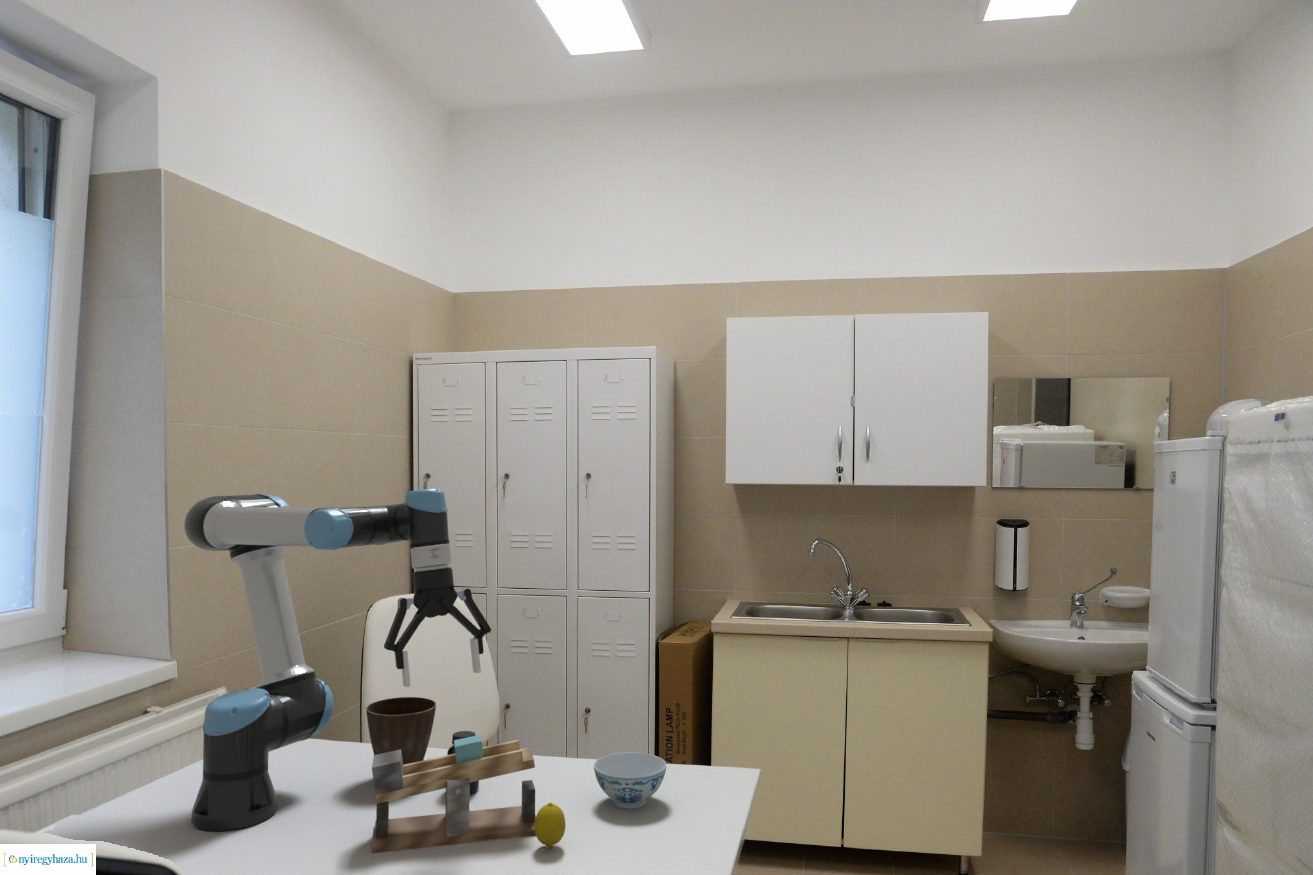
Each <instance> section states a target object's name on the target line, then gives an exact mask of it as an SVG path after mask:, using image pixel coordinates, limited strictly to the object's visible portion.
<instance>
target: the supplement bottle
mask: <svg viewBox="0 0 1313 875" xmlns="http://www.w3.org/2000/svg"><path fill="white" fill-rule="evenodd" d="M472 736H476V733H475V731H472V730H461V731H456V732H453V734H452V740H451V744H452V745H451V746H450V747H449V748H448V750H447V753H446V755H450V754H455V745H454V740H458V739H463V738H467V737H472ZM479 787H480V780H479V781H474V782H470V794H469V796H470V795H473V794H475V793H477V792H478V790H479Z"/></svg>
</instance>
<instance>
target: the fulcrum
mask: <svg viewBox="0 0 1313 875" xmlns="http://www.w3.org/2000/svg"><path fill="white" fill-rule="evenodd" d="M469 794H470V779H469V778H466V779H454V780H447V788H445V808H444V809H445V813H439V814H426V815H418V816H407V817H405V816H404V817H396V818H390V817H389V815H390V813H389V812H390V808H389V807H390V801H388V802H383V803H379V804H376V818H375V819H376V820H375V824H374V829H373V837H372V845H371V853H373V854H374V853H381V852H382V853H384V852H391V851H400V850H401V851H402V850H410V849H419V848H430V847H437V846H438V847H439V846H447V845H448V846H449V845H455V844H456V845H458V844H465V843H474V842H476V843H477V842H483V841H493V840H502V839H510V838H512V839H513V838H521V837H529V836H530V837H531V836H536V833H535V820H536V816H537V814H536V787H535V785H534V782H533V779H529V780H527V779H526V780H522V781H521V805H519V806H518V805H517V806H508V807H506V806H505V807H497V808H488V809H477V810H476V809H475V810H470V795H469Z"/></svg>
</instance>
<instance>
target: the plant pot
mask: <svg viewBox="0 0 1313 875" xmlns="http://www.w3.org/2000/svg"><path fill="white" fill-rule="evenodd" d="M436 709H437V702H436V701H434V700H433V699H431V698H426V697H418V696H405V697H403V696H399V697H390V698H385V699H381V700H377V701H374V702H371V703H370V704H368V705H367V706H366V708H365V712H366V720H367V728H368V734H369V739H370V744H371V749H372V751H373V756H374V755H377V754H382V753H387V752H391V751H396V750H400V749H401V752H402V759H403V765H405V764H410V763H414V762H419V761H423V760H425V756H426V753H427V750H428V746H429V743H430V739H431V735H432V730H433V726H434V721H435V715H436V711H437V710H436Z"/></svg>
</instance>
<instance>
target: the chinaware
mask: <svg viewBox="0 0 1313 875" xmlns="http://www.w3.org/2000/svg"><path fill="white" fill-rule="evenodd" d="M666 769H667V762H666V761H665V760H664V759H663V758H661V757H659V756H656V755H655V754H649V753H643V752H635V751H634V752H630V751H629V752H628V751H627V752H617V753H611V754H607V755H604V756H602V757H600V758H598V759H597V760H595V761H594V764H593V771H594V775H595V778H596V780H597V783H598V786H599V787H600V788H601V791H603V793H604V794H606V795H607V796H608V798H610V799H611V800H613V804H614V805H615V806H616V805H617V807H618V806H619V808H622V807H624V808H623V809H637V808H636V807H638V808H640V807H643V806H644V805H646V803H647V801H648V799H650V798H651V797H652V796H653V795H654V794H655V793H656V792H657V791H658V790H659V788H660V787H661V785H662V782H663V781H664V777H665V774H666Z"/></svg>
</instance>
